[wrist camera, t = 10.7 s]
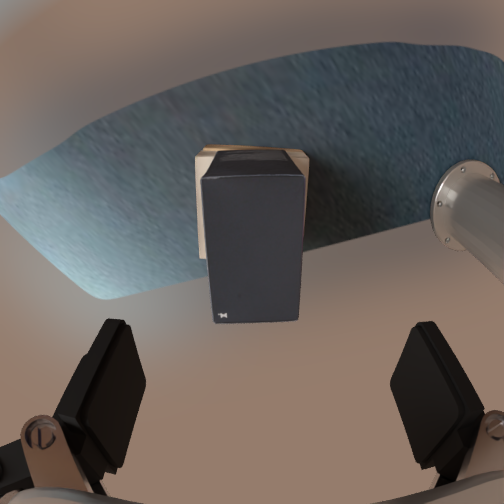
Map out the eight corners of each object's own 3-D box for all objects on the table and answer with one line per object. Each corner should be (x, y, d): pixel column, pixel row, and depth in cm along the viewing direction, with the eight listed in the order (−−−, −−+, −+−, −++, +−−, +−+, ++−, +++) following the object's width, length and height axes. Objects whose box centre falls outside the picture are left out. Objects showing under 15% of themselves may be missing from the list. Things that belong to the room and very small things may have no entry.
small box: (287, 256, 32) (302, 325, 22) (221, 258, 32) (209, 327, 22) (289, 147, 27) (311, 175, 17) (214, 149, 27) (194, 178, 17)
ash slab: (303, 152, 30) (309, 158, 27) (296, 244, 35) (301, 259, 32) (200, 150, 30) (195, 156, 27) (204, 243, 35) (199, 258, 32)
